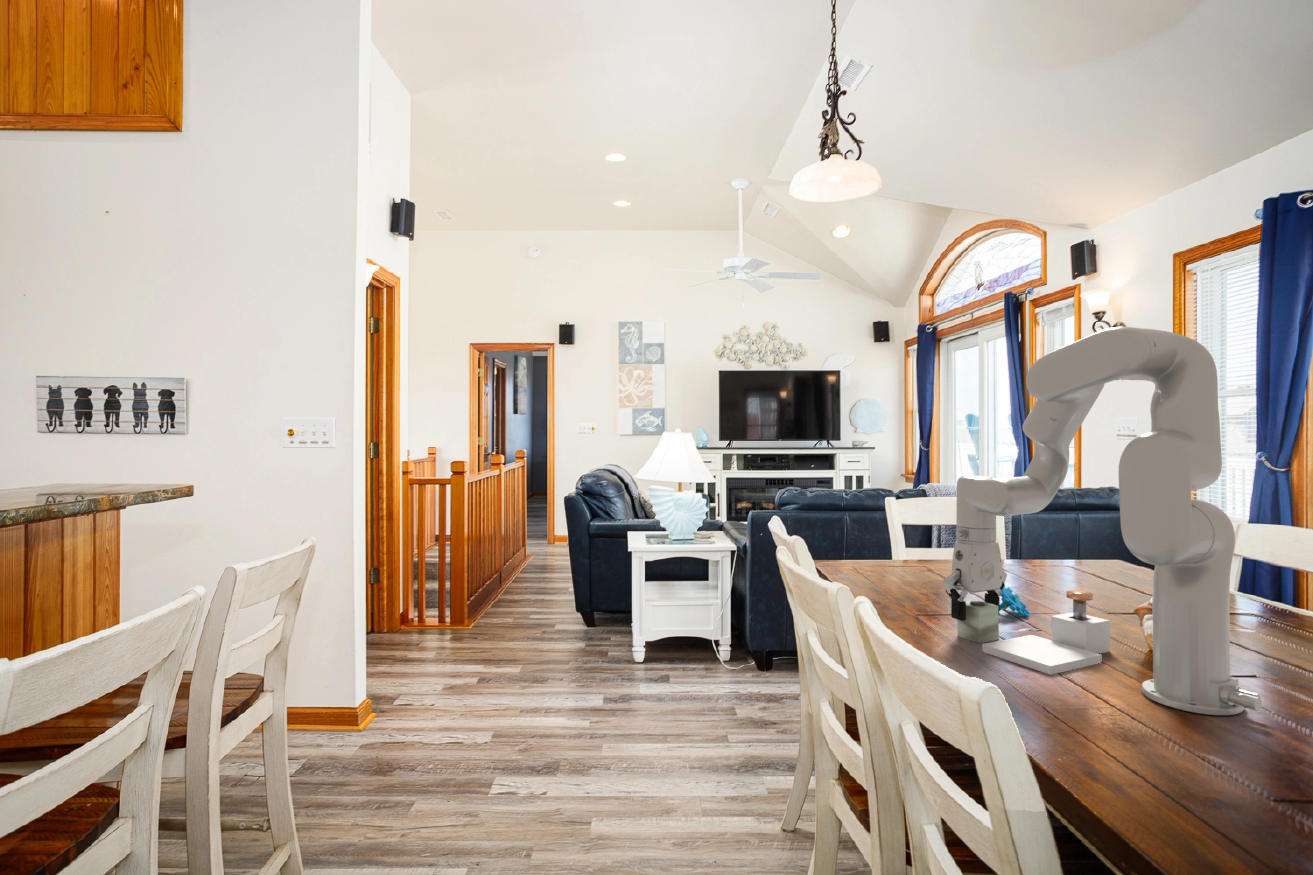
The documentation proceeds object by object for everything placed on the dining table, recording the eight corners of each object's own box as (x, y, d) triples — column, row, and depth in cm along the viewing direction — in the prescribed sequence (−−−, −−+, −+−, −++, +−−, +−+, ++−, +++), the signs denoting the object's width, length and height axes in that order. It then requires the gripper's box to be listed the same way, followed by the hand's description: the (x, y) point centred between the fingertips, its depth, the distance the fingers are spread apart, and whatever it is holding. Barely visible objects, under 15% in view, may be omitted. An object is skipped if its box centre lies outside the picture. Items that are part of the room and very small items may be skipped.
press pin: (1098, 624, 130) (1098, 593, 130) (1083, 627, 128) (1083, 596, 128) (1076, 619, 134) (1075, 589, 134) (1061, 621, 132) (1061, 591, 132)
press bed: (1128, 656, 126) (1128, 624, 126) (1050, 674, 117) (1050, 640, 117) (1057, 636, 139) (1057, 607, 139) (982, 651, 130) (982, 620, 130)
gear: (1024, 615, 149) (991, 579, 155) (1003, 631, 152) (971, 594, 158) (1038, 612, 157) (1006, 578, 163) (1018, 627, 160) (988, 593, 165)
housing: (998, 639, 138) (998, 603, 138) (979, 643, 136) (979, 606, 136) (976, 632, 143) (975, 597, 143) (957, 635, 141) (957, 600, 141)
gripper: (960, 540, 132) (960, 626, 133) (1020, 534, 140) (1020, 616, 140) (931, 535, 139) (930, 616, 140) (989, 529, 146) (989, 607, 147)
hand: (975, 616), depth 140 cm, fingers open, 9 cm apart
